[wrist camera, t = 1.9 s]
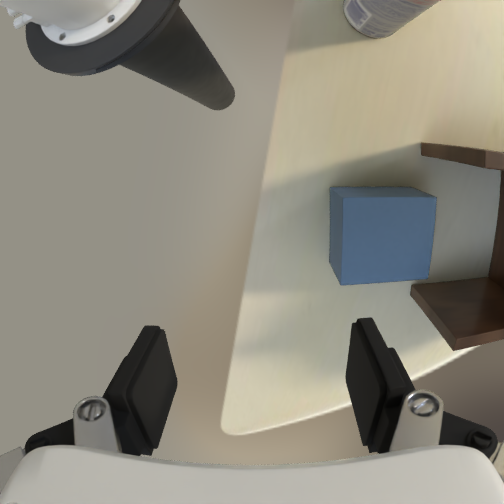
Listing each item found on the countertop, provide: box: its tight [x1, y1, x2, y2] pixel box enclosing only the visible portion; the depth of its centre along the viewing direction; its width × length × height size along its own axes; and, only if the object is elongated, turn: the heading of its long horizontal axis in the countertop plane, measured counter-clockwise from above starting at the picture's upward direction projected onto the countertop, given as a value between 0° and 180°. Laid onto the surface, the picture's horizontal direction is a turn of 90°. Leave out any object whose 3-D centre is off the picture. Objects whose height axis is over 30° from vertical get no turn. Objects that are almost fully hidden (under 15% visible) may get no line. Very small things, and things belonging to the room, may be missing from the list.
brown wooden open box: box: [410, 143, 504, 351], centre depth 23 cm, size 12×15×10 cm
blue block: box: [329, 187, 437, 285], centre depth 26 cm, size 8×7×5 cm
